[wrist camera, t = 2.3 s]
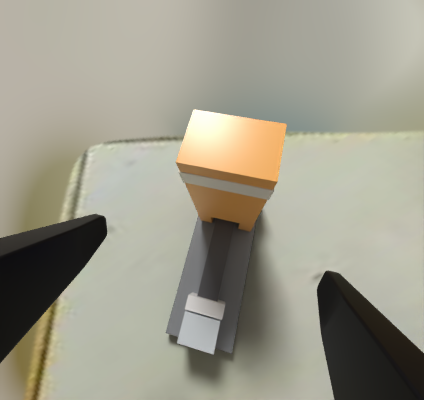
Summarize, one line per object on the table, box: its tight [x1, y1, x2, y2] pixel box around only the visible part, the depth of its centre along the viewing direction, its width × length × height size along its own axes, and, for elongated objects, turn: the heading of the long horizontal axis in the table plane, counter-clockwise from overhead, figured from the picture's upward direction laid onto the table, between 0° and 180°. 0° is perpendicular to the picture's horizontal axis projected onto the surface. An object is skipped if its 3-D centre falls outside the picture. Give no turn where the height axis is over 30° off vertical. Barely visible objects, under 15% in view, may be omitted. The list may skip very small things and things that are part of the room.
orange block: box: [176, 110, 286, 232], centre depth 15 cm, size 3×5×11 cm
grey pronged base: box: [166, 215, 257, 355], centre depth 18 cm, size 14×5×4 cm, turn 166°
